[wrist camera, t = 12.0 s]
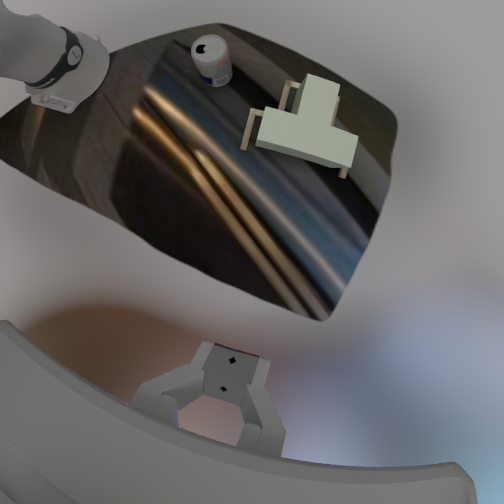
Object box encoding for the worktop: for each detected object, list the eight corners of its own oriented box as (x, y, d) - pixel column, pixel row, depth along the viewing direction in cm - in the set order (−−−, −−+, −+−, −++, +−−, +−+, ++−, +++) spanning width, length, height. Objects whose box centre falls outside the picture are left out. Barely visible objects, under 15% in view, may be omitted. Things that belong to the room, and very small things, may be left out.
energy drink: (204, 62, 40) (191, 34, 28) (233, 62, 40) (229, 33, 29) (201, 87, 41) (187, 64, 30) (231, 87, 42) (226, 63, 30)
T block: (255, 145, 45) (256, 139, 35) (271, 84, 41) (277, 64, 32) (330, 167, 46) (350, 167, 36) (345, 108, 43) (367, 95, 33)
